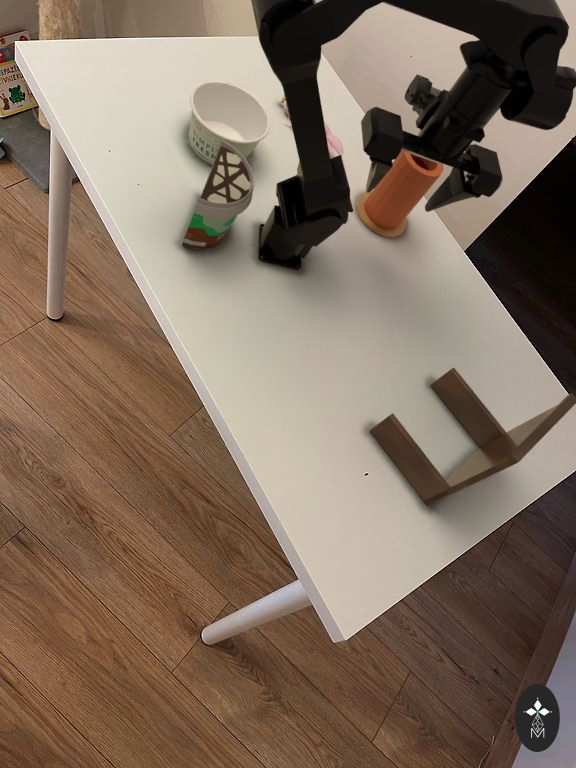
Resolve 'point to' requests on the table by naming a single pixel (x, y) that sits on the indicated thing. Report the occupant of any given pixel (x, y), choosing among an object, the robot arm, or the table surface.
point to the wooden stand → (481, 426)
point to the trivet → (372, 225)
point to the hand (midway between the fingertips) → (397, 199)
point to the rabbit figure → (331, 138)
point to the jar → (401, 189)
